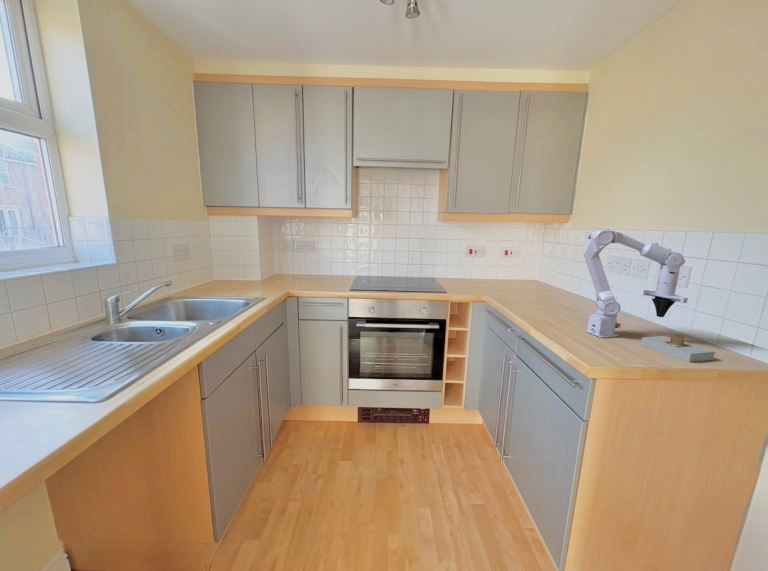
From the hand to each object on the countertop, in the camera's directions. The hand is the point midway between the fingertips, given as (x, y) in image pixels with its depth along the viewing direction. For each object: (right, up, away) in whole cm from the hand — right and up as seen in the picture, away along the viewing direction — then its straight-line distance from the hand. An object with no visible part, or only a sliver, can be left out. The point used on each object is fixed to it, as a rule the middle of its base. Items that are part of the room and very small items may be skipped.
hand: (660, 316), depth 124 cm
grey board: (-4, -12, -10) cm, 16 cm away
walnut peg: (-4, -12, -10) cm, 16 cm away
